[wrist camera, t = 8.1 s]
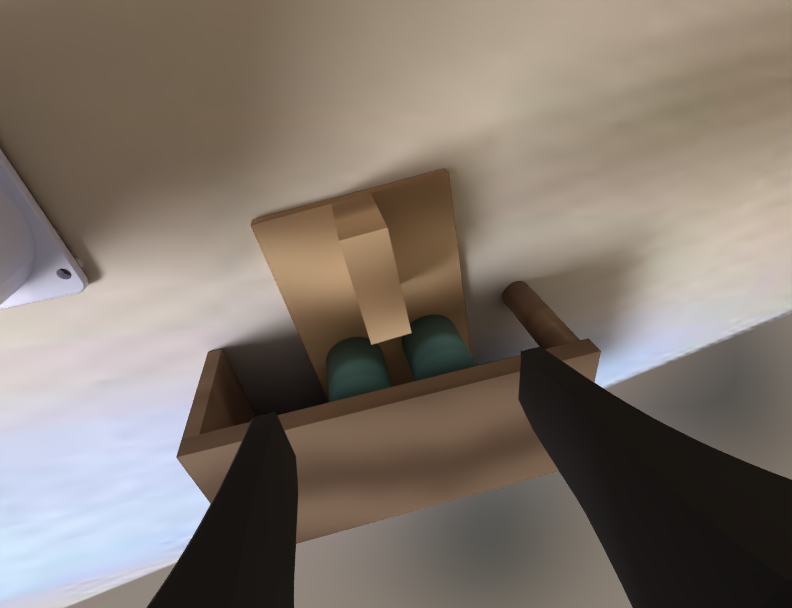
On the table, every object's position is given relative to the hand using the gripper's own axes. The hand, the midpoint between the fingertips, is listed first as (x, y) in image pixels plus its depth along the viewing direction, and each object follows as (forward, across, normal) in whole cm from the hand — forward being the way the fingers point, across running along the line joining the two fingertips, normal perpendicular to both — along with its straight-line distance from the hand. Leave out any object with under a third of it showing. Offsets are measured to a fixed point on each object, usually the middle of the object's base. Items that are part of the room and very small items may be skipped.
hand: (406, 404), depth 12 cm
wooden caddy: (+10, 0, +8) cm, 13 cm away
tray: (+10, 0, +3) cm, 11 cm away
